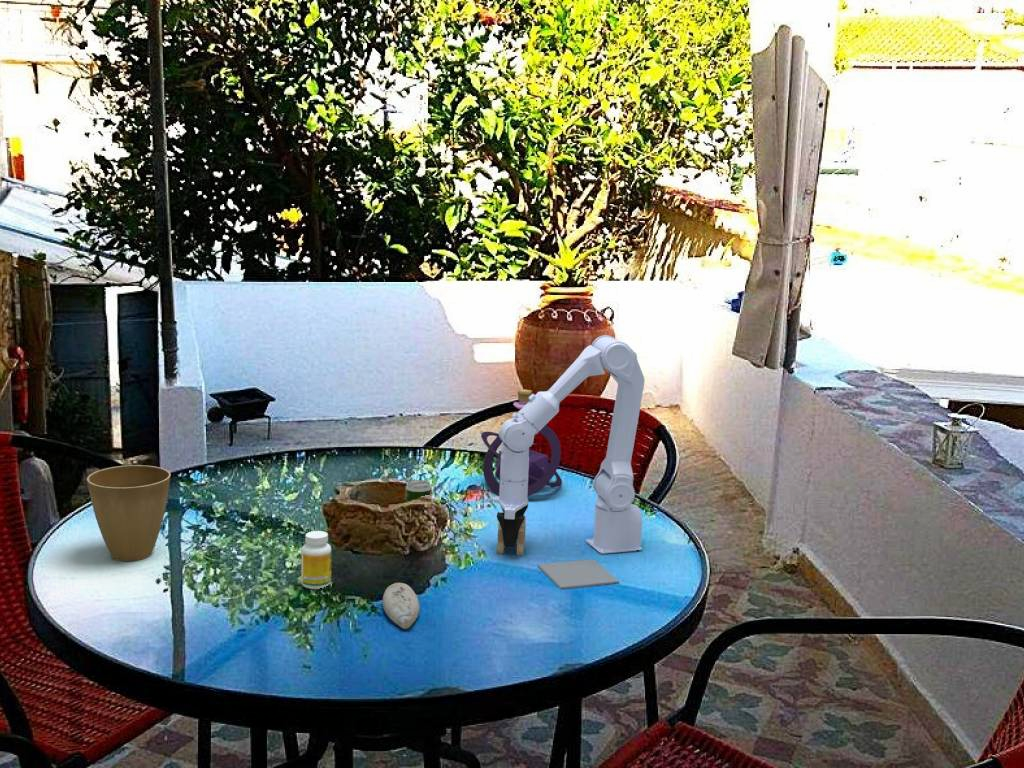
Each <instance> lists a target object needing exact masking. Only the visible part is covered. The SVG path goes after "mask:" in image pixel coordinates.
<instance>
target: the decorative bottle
mask: <svg viewBox="0 0 1024 768" xmlns="http://www.w3.org/2000/svg"><path fill="white" fill-rule="evenodd" d="M532 394H533V390H530V389H517V400H518V401H515V402H513V406H514V407H515V408H516V409H517V410H519V411H520V410H521V409H522V408H523V407H524V406H525V405H526V404H527V403H528V402H529V401H530V399H529V397H530V396H531V395H532ZM519 411H514V412H513V413H512V415H513V414H514V413H515V412H516V413H518V412H519ZM519 413H520V412H519ZM520 414H521V413H520ZM521 415H522V414H521ZM522 416H523V415H522ZM535 429H536V428H535ZM536 430H537V429H536ZM537 431H538V430H537ZM538 433H539V434H540V435H542V436H543V437H544V438H545V439H546V440H547V441H548V444H549V447H550V453H551V456H550V462H549V455H547V454H545V453H544V454H543V453H541V449H540V452H538V451H535V450H531V449H530V448H529V471H528V495H527V498H528V497H530V496H532V495H534V494H536V493H538V492H540V491H541V490H542V489H543V488H544V487H545V486H550V487H554V488H555V487H561V486H562V485H563V480H562V478H561V476H560V474H559V473H558V472H557V470H558V468H559V465H560V463H561V456H562V450H561V449H562V447H561V442H560V440H559V437H558V435H557V434H556V432H555V431H553V429H552V428H550V427H549V426H548V425H547V424H546V425H545V426H544V427H543V428H542V429H541V430H540V431H538ZM480 434H481V435H480V437H481V439H482V442H483V443H484V444H485V446H486V447H487V451H486V453H485V455H484V460H483V465H482V467H483V468H482V471H483V472H482V473H483V477H484V480H485V484H486V485H487V486H488V488H489V489H490V491H491V492H493V493H494V494H496V495H497V497H499V492H500V482H499V481H500V466H501V455H502V450H499V451H498V448H499V447H500V446H502V443H503V442H502V440H501V439H500V437H499V432H493V431H483V432H481V433H480ZM490 436H494V437H495V439H494V440H493V441H492V442H491V444H490V442H489V441H488V437H490ZM495 456H496V457H497V463H496V469H495V472H494V470H493V462H494V458H495ZM554 476H555V479H556V480H555V481H554V482H550V481H551V480H552V479H553V477H554ZM497 479H498V480H499V481H498V480H497Z"/></svg>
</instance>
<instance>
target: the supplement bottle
mask: <svg viewBox="0 0 1024 768" xmlns="http://www.w3.org/2000/svg"><path fill="white" fill-rule="evenodd" d="M304 537H305V540H304V541H305V544H304V545H303V546H302V548H301V559H300V561H301V573H300V574H301V575H300V579H301V582H300V583H301V586H302V587H304V588H306V589H309V590H321V589H320V588H322V589H325V588H327V587H326V586H328V585H329V584H330V583H331V584H332V546H331V545H330V544H329V543H328V541H329V533H328V532H326V531H322V530H313V531H312V530H311V531H309V532H307V533H305V536H304ZM331 584H330V585H331ZM330 585H329V586H330ZM329 586H328V587H329ZM324 587H325V588H324Z"/></svg>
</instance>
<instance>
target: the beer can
mask: <svg viewBox="0 0 1024 768" xmlns="http://www.w3.org/2000/svg"><path fill="white" fill-rule="evenodd" d="M404 493H405V495H404V497H405V499H404V500H406V501H409V500H413V499H417V498H419V497H421V496H425V495H430V496H431V497H432V486H431V482H430V481H428V480H423V479H421V480H420V479H415V480H413V479H412V480H409V481H407V482H406V486H405V492H404Z"/></svg>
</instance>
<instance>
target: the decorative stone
mask: <svg viewBox="0 0 1024 768" xmlns="http://www.w3.org/2000/svg"><path fill="white" fill-rule="evenodd" d="M382 607H383V610H384V612H385V614H386V615H387V617H388V618H389V620H391V621H392V622H393V623H394V624H395V625H397V626H399V627H400V628H402V629H403V630H405V629H409V628H410V627H411V626H412V625H413V624H414V623H415V621H416V620H417V618H418V617H419V614H420V613H419V612H420V602H419V599H418V596H417V594H416V593H415V591H414V590H413V588H412V587H411V586H409V585H408V584H406V583H403V582H394V583H393V584H391V585H389V586H388V587H387V588H386V589H385V590H384V593H383V597H382Z"/></svg>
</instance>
